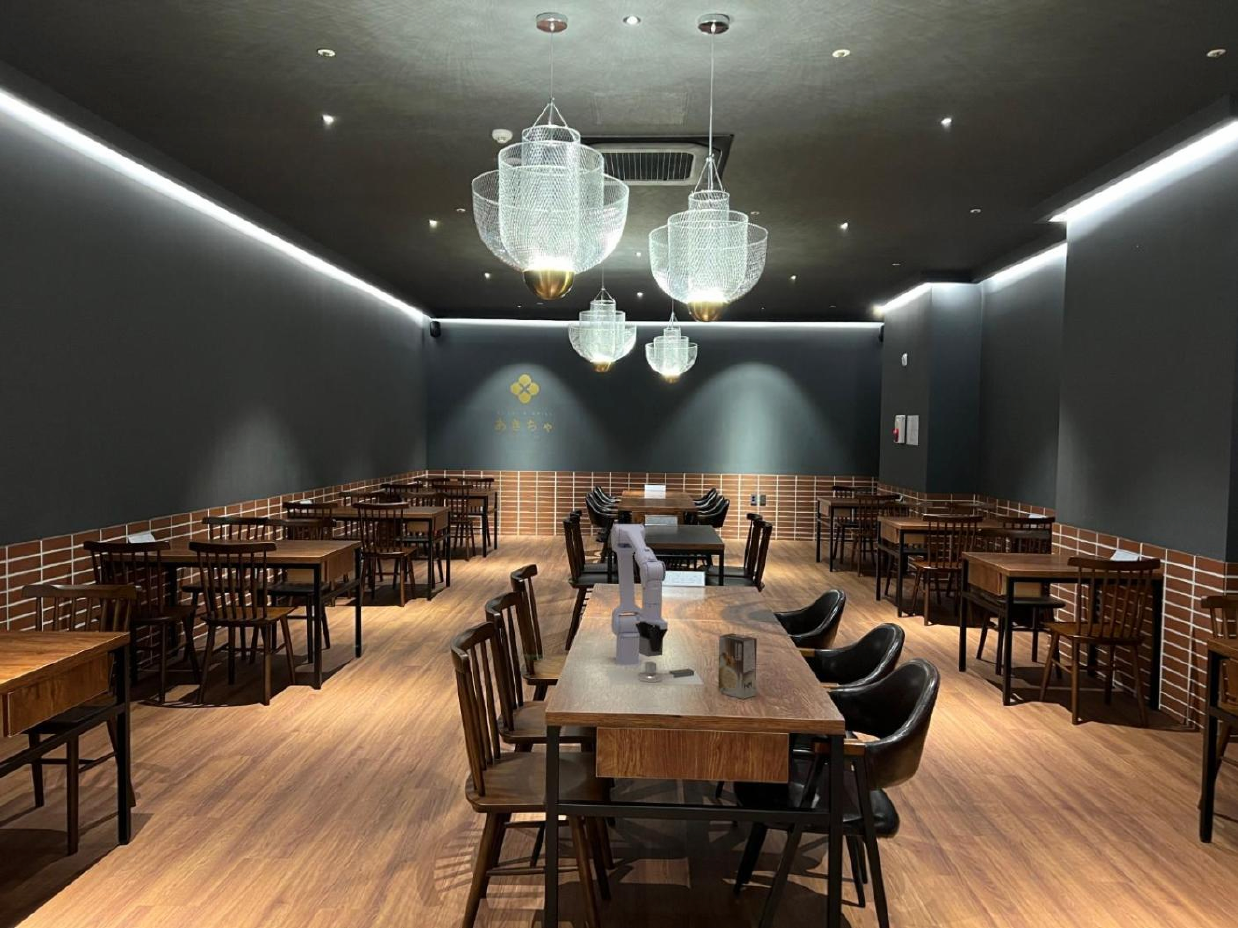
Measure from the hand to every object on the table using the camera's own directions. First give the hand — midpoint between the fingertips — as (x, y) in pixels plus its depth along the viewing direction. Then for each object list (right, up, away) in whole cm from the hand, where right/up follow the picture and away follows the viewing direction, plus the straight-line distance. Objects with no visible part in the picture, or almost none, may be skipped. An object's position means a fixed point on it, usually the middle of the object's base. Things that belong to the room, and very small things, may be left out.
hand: (650, 649), depth 255 cm
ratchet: (+5, -9, +3) cm, 10 cm away
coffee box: (+24, -10, -11) cm, 28 cm away
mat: (+1, -9, +3) cm, 10 cm away
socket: (0, -1, 0) cm, 1 cm away
